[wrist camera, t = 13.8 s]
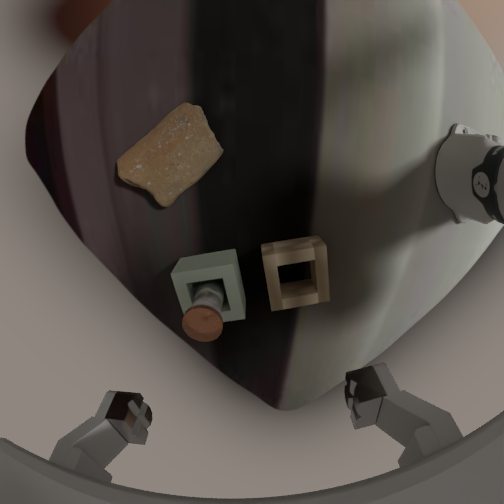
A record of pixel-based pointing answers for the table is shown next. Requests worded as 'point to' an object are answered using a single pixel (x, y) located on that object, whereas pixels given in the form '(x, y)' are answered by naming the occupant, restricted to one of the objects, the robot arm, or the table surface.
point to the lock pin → (205, 312)
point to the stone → (171, 155)
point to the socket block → (208, 269)
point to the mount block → (302, 289)
